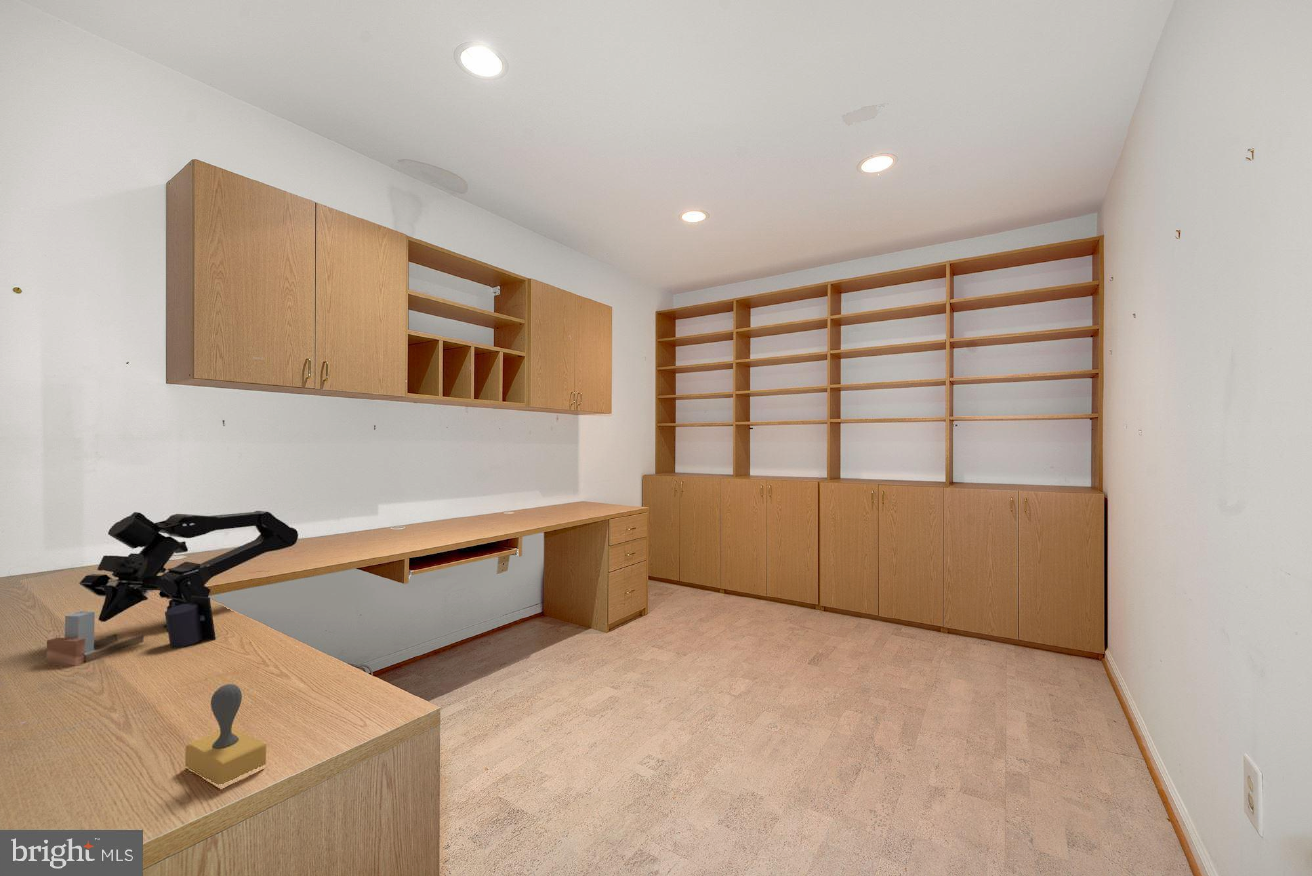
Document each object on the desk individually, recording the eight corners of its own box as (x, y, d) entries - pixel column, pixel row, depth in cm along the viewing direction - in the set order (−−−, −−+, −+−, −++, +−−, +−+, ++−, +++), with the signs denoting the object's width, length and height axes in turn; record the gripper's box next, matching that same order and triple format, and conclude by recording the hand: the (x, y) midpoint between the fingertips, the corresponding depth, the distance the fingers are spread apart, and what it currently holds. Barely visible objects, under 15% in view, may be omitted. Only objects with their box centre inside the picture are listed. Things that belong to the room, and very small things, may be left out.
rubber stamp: (184, 769, 75) (185, 685, 76) (231, 749, 81) (233, 670, 81) (219, 791, 71) (220, 701, 71) (267, 768, 76) (268, 684, 76)
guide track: (114, 640, 122) (114, 618, 122) (143, 641, 122) (143, 619, 122) (44, 664, 109) (45, 640, 109) (77, 665, 109) (77, 641, 109)
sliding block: (76, 653, 114) (77, 611, 114) (98, 654, 114) (99, 611, 114) (59, 659, 111) (60, 615, 111) (82, 660, 111) (83, 616, 111)
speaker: (207, 633, 127) (203, 591, 126) (216, 639, 124) (212, 596, 123) (165, 646, 121) (160, 602, 120) (173, 653, 118) (169, 608, 116)
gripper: (88, 539, 122) (29, 601, 111) (166, 540, 121) (114, 604, 110) (124, 565, 130) (72, 626, 119) (197, 566, 129) (151, 628, 118)
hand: (101, 620), depth 116 cm, fingers closed
